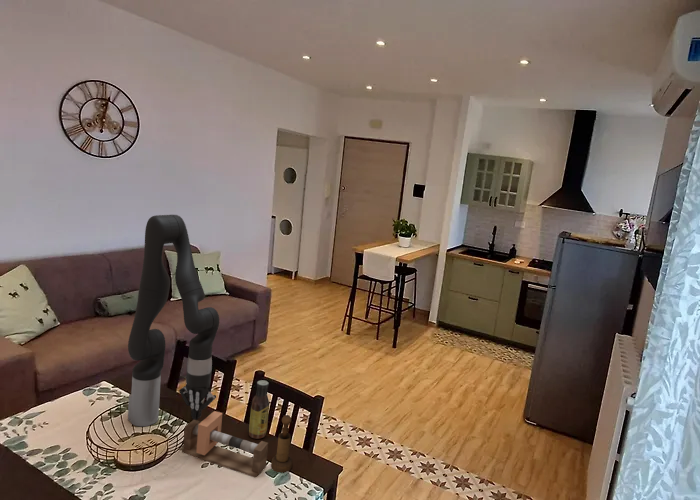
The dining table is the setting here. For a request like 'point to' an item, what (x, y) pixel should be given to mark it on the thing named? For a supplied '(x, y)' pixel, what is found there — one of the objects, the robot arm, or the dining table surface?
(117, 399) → the dining table surface
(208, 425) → the collar
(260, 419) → the sauce bottle
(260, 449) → the pipe stand
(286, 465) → the wooden pepper mill
